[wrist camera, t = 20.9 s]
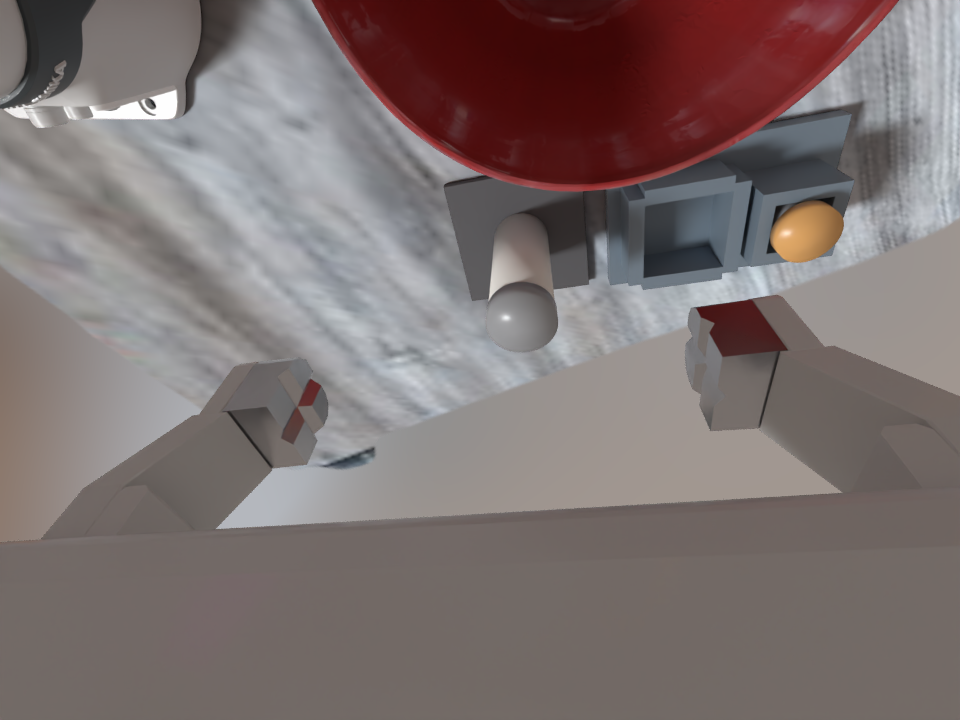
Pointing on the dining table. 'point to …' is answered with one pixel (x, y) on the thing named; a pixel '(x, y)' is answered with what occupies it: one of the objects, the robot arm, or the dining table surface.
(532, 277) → the cartridge
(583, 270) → the mat
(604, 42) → the mixing bowl
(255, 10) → the dining table surface
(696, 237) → the grey double open block
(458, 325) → the dining table surface
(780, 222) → the brown egg
